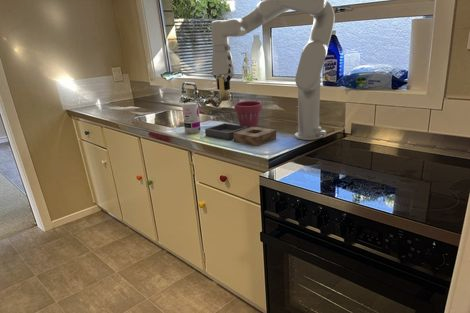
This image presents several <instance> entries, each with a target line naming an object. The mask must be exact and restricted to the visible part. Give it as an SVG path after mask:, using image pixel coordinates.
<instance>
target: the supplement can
mask: <svg viewBox="0 0 470 313" xmlns="http://www.w3.org/2000/svg"><path fill="white" fill-rule="evenodd" d="M181 108H182V115H183V126H184V132H185V133H186V134H197V133H199V132H200V131H201V119H200V109H199V104H198V102H196V101H191V102H189V101H188V102H184V103H183V104H182V106H181Z"/></svg>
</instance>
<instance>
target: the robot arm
mask: <svg viewBox="0 0 470 313" xmlns="http://www.w3.org/2000/svg"><path fill="white" fill-rule="evenodd" d="M289 10H292V11H295V12H299V13H302V14H305V15H309V16H311V17H312V18H313V23H312V26H311V30H310V34H309V38H308V41H307V43H306V44H305V45H304V46H303V49H302V52H301V54H300V58H299V62H298V66H297V70H296V74H295V80H294V82H295V85H296V87H297V88H298V90H297V91H298V93H297V132H295V133H294V138H295V139H298V140H303V141H304V140H305V141H313V140H319V139H321V138H323V136H324V137H325V136H326V135H327V130H326V129H325V130H324V129H322V126H320V108H321V107H320V106H321V105H320V104H321V101H320V100H321V83H322V80H321V79H322V78H321V77H322V76H321V74H322V69H323V66H324V62H325V59H326V57H327V55H328V49H329V45H330V42H331V39H332V38H331V37H332V33H333V30H334V27H335V11H334V9H333V6H332V5H331V2H329V0H260V1H259V2H258V3H257V4H256V7H255V8H253V10H252V11H250V12H249V13H247V14H246V15H244V16H242V17H240V18H231V19H230V18H229V19H226V20H225V19H221V20H220V19H219V20H217V19H216V20H212V21H211V24H210V28H211V30H210V31H211V41H212V42H211V44H212V53H211V54H212V57H211V64H212V65H211V66H212V69H211V70H212V72H211V75H212V76H213V77H214V79H215V81H216V88H217V90H219V77H221V76H224V79H225V81H224V90H228V91H229V90H230V89H231V79H232V77H234V76H235V73H234V71H235V70H234V62H233V56H232V53H231V51H230V49H231V47H230V42H229V41H230V40H229V38H230V37H232V38H236V37H237V38H238V37H243V36H245V35H247V34H249V33H251V32H253V31H255V30H256V29H258V28H259V27H261V26H262V25H265V24H266V23H268V22H269V21H271V20H273V19H274V18H277V17H279V15H282V14H284V13H285V12H287V11H289ZM219 91H220V90H219Z"/></svg>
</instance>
